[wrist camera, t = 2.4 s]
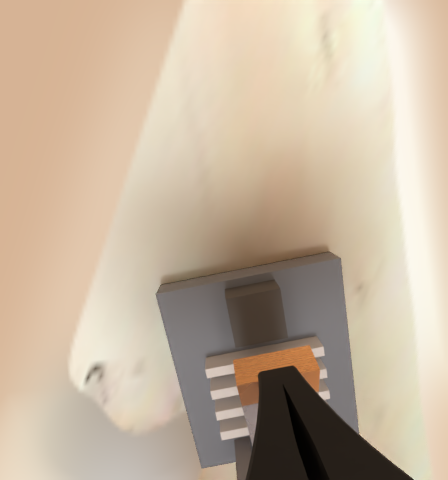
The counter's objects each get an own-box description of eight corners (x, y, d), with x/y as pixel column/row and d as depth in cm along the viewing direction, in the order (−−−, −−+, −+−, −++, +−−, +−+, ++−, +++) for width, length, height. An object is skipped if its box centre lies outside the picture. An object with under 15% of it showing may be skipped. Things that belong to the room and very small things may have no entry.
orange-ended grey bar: (307, 461, 17) (313, 481, 16) (260, 470, 17) (264, 491, 16) (309, 344, 10) (320, 369, 9) (232, 359, 10) (236, 385, 9)
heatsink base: (348, 419, 20) (393, 496, 15) (202, 447, 20) (198, 533, 15) (329, 251, 17) (376, 278, 12) (160, 284, 17) (139, 325, 12)
